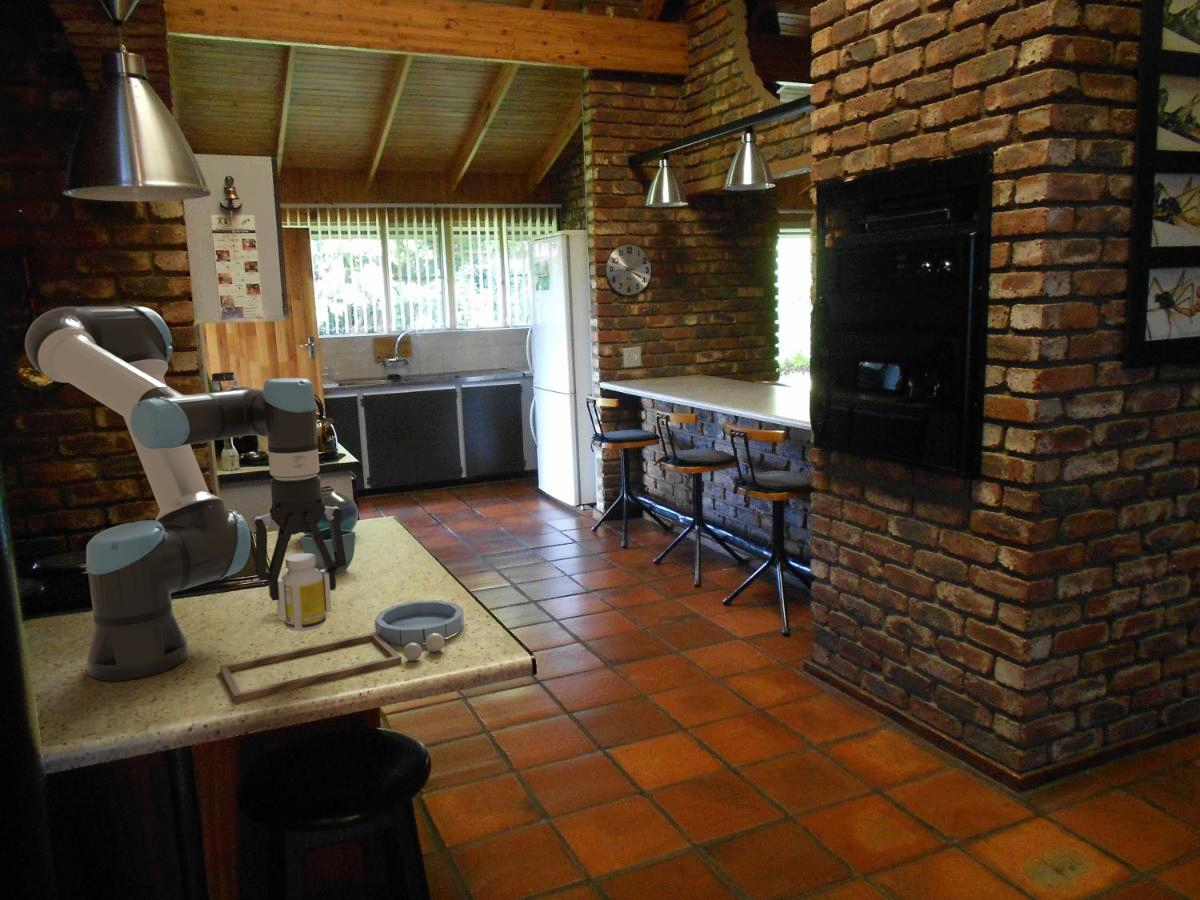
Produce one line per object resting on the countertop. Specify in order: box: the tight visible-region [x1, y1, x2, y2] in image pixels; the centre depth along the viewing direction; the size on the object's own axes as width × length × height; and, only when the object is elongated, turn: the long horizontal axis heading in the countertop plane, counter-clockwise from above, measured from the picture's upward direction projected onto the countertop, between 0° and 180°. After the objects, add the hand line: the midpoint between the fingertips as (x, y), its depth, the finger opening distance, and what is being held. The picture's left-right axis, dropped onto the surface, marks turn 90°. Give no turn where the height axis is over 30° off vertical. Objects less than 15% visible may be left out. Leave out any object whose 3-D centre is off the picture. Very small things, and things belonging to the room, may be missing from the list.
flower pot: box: [299, 528, 356, 575], centre depth 199 cm, size 9×9×9 cm
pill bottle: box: [281, 552, 327, 632], centre depth 144 cm, size 6×6×12 cm
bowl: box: [374, 599, 465, 646], centre depth 162 cm, size 15×15×3 cm
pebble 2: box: [425, 633, 446, 653], centre depth 151 cm, size 3×3×3 cm
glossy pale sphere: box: [403, 642, 423, 662], centre depth 148 cm, size 3×3×3 cm
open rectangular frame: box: [219, 631, 403, 703], centre depth 146 cm, size 26×14×1 cm, turn 121°
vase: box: [303, 485, 359, 535], centre depth 230 cm, size 15×15×13 cm
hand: (304, 613), depth 145 cm, fingers closed on pill bottle, 6 cm apart
